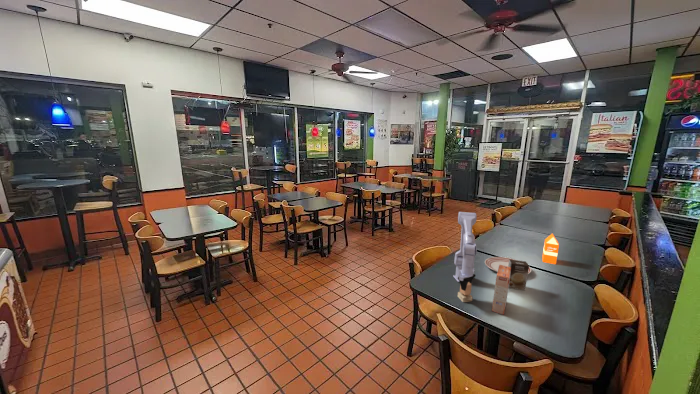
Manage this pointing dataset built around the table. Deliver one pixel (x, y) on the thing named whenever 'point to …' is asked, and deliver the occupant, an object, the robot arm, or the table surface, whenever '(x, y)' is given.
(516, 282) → the coffee box
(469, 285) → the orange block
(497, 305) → the cracker box
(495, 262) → the dinner plate
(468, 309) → the table surface
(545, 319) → the table surface
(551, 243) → the orange juice
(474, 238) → the robot arm
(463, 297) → the beech base
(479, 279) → the table surface
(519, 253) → the table surface
